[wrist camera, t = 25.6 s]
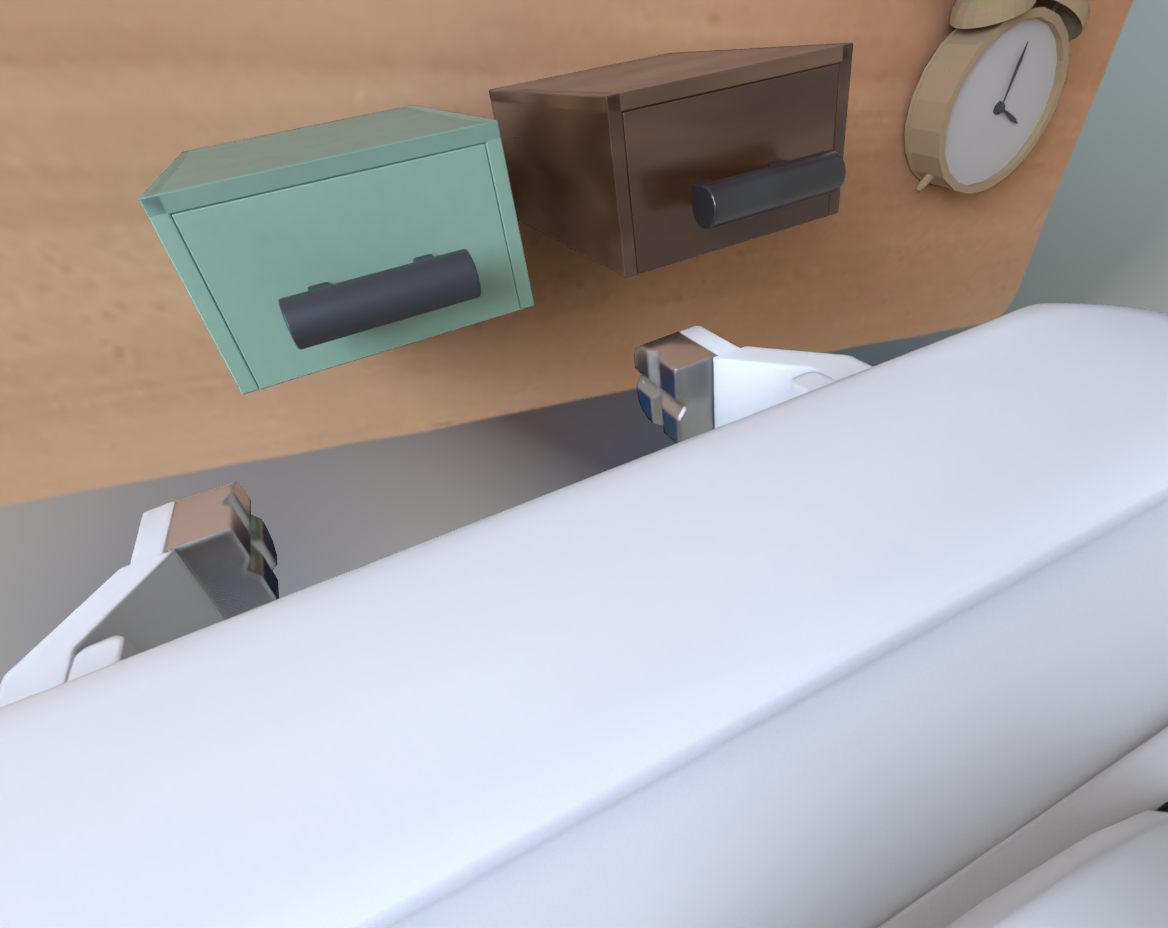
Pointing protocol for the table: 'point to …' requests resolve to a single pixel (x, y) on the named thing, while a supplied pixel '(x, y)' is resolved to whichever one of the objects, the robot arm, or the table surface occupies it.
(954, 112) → the alarm clock
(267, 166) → the sage shelf
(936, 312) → the table surface
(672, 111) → the walnut shelf
